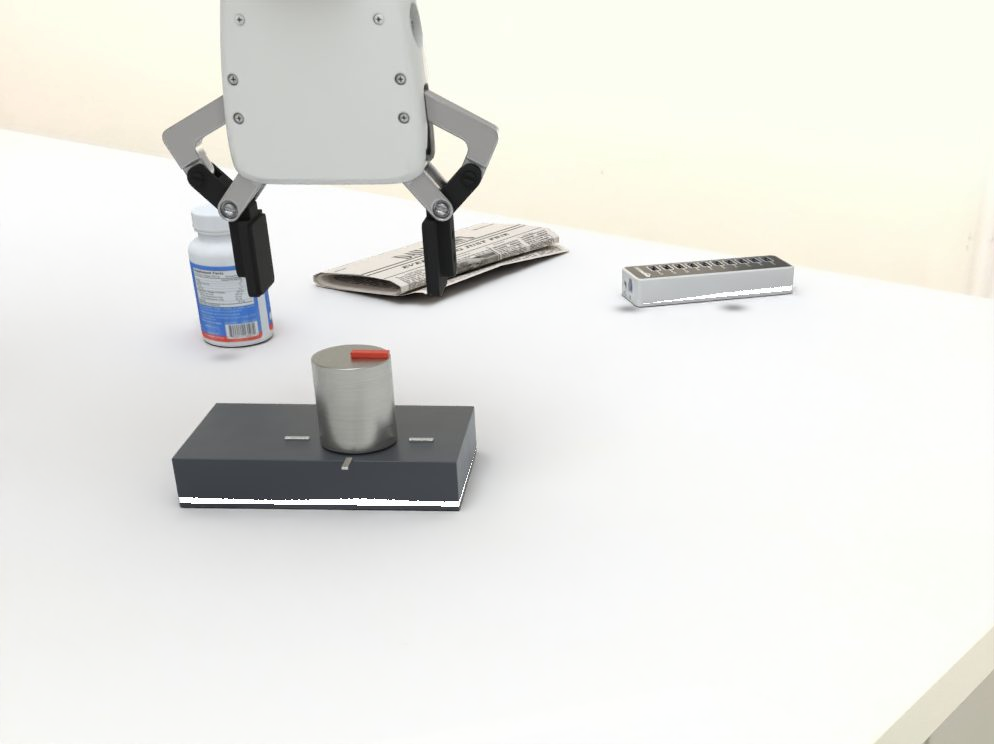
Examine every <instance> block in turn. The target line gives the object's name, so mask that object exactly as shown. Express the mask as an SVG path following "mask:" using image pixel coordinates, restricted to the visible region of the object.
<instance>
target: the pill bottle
mask: <svg viewBox="0 0 994 744" xmlns="http://www.w3.org/2000/svg"><path fill="white" fill-rule="evenodd" d="M190 215H191V223H192V227H193V231H194V232H196V234H197V237H195V238H193V239H192V240H191V241H190V243H189V244H188V247H187V254H188V261H189V268H190V273H191V278H192V283H193V284H192V285H193V289H194V295H195V300H196V307H197V313H198V319H199V326H200V331H201V335H202V338H203V340H204V341H205V342H207V343H208V344H211V345H214V346H218V347H225V348H237V347H239V348H240V347H246V346H251V345H252V346H253V345H256V344H259V343H262V342H265V341H267V340H269V339H271V337H272V336H273V334H274V330H275V329H274V320H273V314H272V307H271V300H270V294H269V293H270V292H269V289H268V290H267V291H266V292H265V293H264V294H263V295H261V296H260V297H249V295H248V291H247V284H246V278H245V277H240V278H239V277H238V275H237V273H236V268H235V262H234V255H233V249H232V242H231V236H230V230H229V223H228V221H225V220H224V219H222V218H221V217H220V215H219V213H218V210H217V208H215V207H214V206H213V205H212V204H211V203H208V204H203V205H198V206H196V207H194V208H192V209H191V210H190Z"/></svg>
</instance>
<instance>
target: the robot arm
mask: <svg viewBox="0 0 994 744" xmlns="http://www.w3.org/2000/svg"><path fill="white" fill-rule="evenodd" d="M219 45H220V46H219V47H220V48H219V49H220V70H221V71H220V73H221V87H222V95H220V96H219V97H217V98H215V99H214V100H212V101H210V102H208V103H207V104H205V105H204V106H202V107H200V108H198V109H197V110H195V111H194V112H192V113H191V114H189V115H187V116H186V117H184V118H182V119H181V120H179V121H177V122H176V123H174V124H172V125H171V126H169V127H167V128H165V130H164V131H163V132H162V134H161V137H162V139H161V140H162V142H163V144H164V146H165V147H166V149H167V150H168V151H169V153H170V154H171V156H172V158H173V159H174V161H175V162H176V163H177V165H178V167H179V168H180V170H182V171H183V173H184V174H185V175H186V180H187V182H188V184H189V185H190V186H191V188H193V189H194V191H196V192H197V193H198V194H199V195H201V196H202V197H203V198H204V199H205V200H206V201H208V203H209V204H212V205H213V206H214V207H215V208H217V210H218V213H219V215H220V217H221V218H222V219H224V220H225V221H228V223H229V230H230V236H231V242H232V249H233V255H234V262H235V268H236V273H237V275H238V277H239V278H240V277H245V278H246V284H247V291H248V295H249V297H260V296H261V295H263V294H264V293H265V292H266V291H267V290H268V291H269V289H270V288H271V286H272V285H273V284H274V283H275V280H276V279H275V270H274V263H273V257H272V249H271V243H270V242H271V241H270V234H269V229H268V222H267V221H268V220H267V215H266V213H264V212H263V209H262V208H258V202H257V199H258V198H259V197H260V195H261V194H262V193H263V191H264V190H265V188H266V186H267V185H278V186H279V185H280V186H283V185H284V186H286V185H287V186H288V185H289V186H293V185H294V186H346V185H347V186H354V185H359V186H362V185H367V186H368V185H372V186H374V185H375V186H376V185H397V184H403V186H404V187H405V188H406V189H407V190H408V191H409V192H410V193H411V195H412V196H413V197H414V198H415V199H416V201H418V202H419V203H420V205H421V206H422V207H423V208H424V209H425V214H426V216H425V218H424V219H423V221H422V223H421V239H422V241H423V252H424V264H425V276H426V287H427V294H426V295H430V297H431V298H441V297H442V296H443V294H444V291H445V289H446V287H447V286H446V285H447V277H455V276H456V273H457V258H456V244H455V231H456V230H455V218H454V213H455V212H456V211H457V210H458V209H459V208H460V207H461V206H462V205H463V204H464V202H466V200H467V199H468V198H469V197H470V196H471V195H472V193H473V192H474V191H475V190H476V189H477V188H479V185H480V184H481V182H482V181H483V179H484V176H485V174H486V171H487V169H488V168H489V165H490V162H491V160H492V158H493V156H494V153H495V151H496V149H497V147H498V144H499V141H500V140H501V135H502V133H501V130H500V128H499V127H498V126H497V125H496V124H495V123H492V122H491V121H489V120H486V119H485V118H483V117H481V116H479V115H477V114H476V113H474V112H473V111H471V110H468V109H466V108H464V107H462V106H460V105H459V104H457V103H455V102H453V101H451V100H449V99H447V98H445V97H443V96H441V95H440V94H437V93H436V92H434V91H433V90H432V88H431V80H430V73H429V65H428V59H427V52H426V46H425V45H426V44H425V38H424V33H423V27H422V22H421V16H420V12H419V7H418V2H417V0H219ZM224 126H225V130H226V138H227V143H228V149H229V155H230V157H231V161H232V164H233V167H234V169H235V171H236V172H237V174H236V176H235V177H234V179H232V178H231V177H230V176H228V175H227V174H226V173H225V172H224V171H222V169H221V168H219V166H217V165H216V164H215V163H214V162H212V161H211V160H210V159H209V157H208V155H207V152H206V150H205V149H204V147H203V140H204V138H205V137H207V136H208V135H210V134H212V133H213V132H215V131H217V130H218V129H220V128H222V127H224ZM436 127H437V128H439V129H441V130H442V131H444V132H446V133H448V134H451V135H453V136H454V137H456V138H458V139H460V140H462V141H463V142H464V143H465V144H466V147H467V152H466V155H465V156H464V157H465V158H464V159H463V162H462V164H461V166H460V167H459V168H458V170H457V171H456V172H455V173H454V174H452V176H451V177H450V178H449V180H447V179H446V177H444V176H443V174H442V173H441V172H440V171H439V170H438V169H437V168H436V166H434V164H433V163H432V161H433V160H434V158H435V156H436V146H437V141H436V140H437V137H436Z"/></svg>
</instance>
